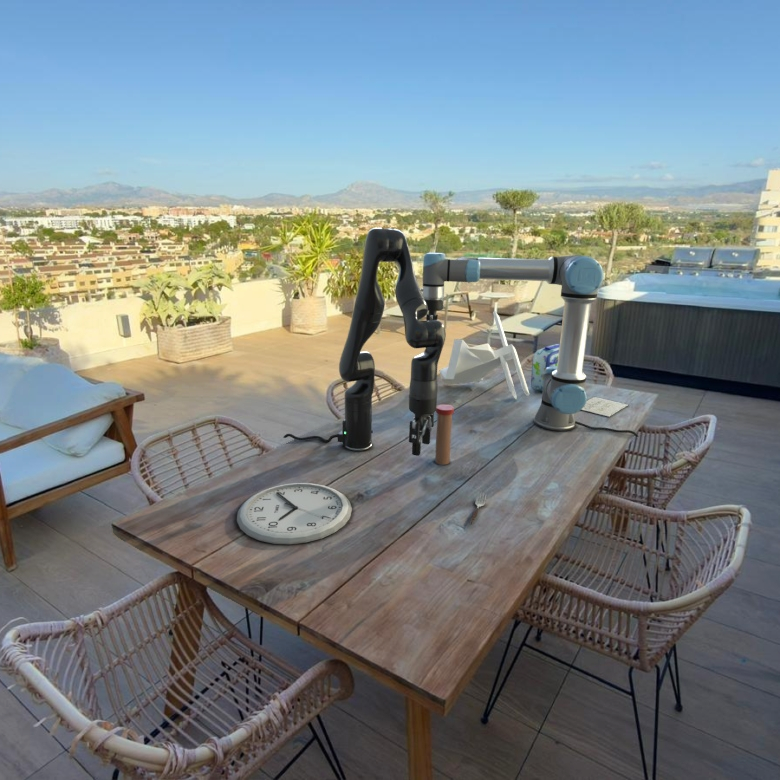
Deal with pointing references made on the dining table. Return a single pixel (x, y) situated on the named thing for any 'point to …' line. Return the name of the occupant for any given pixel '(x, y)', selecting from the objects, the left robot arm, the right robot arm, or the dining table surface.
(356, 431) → the left robot arm
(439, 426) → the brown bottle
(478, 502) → the fork
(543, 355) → the lunch box
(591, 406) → the invitation card
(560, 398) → the right robot arm
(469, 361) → the white plastic object
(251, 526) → the wall clock
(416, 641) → the dining table surface
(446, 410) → the lid
